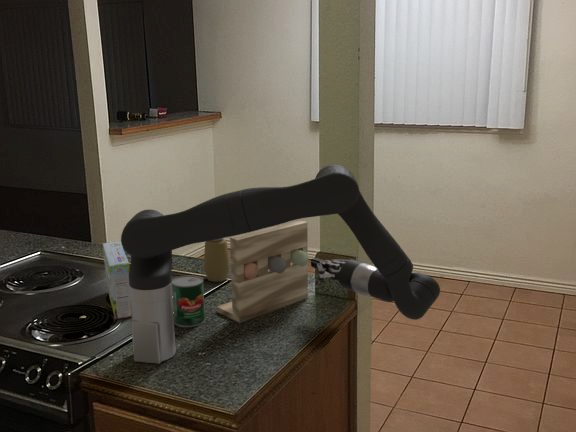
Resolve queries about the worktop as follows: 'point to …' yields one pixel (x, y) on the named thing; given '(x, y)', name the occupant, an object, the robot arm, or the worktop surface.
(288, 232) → the button panel
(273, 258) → the grey button
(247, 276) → the terracotta button
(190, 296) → the canned tomato
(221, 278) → the squeeze bottle
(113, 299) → the snack box
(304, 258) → the sage button
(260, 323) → the worktop surface
